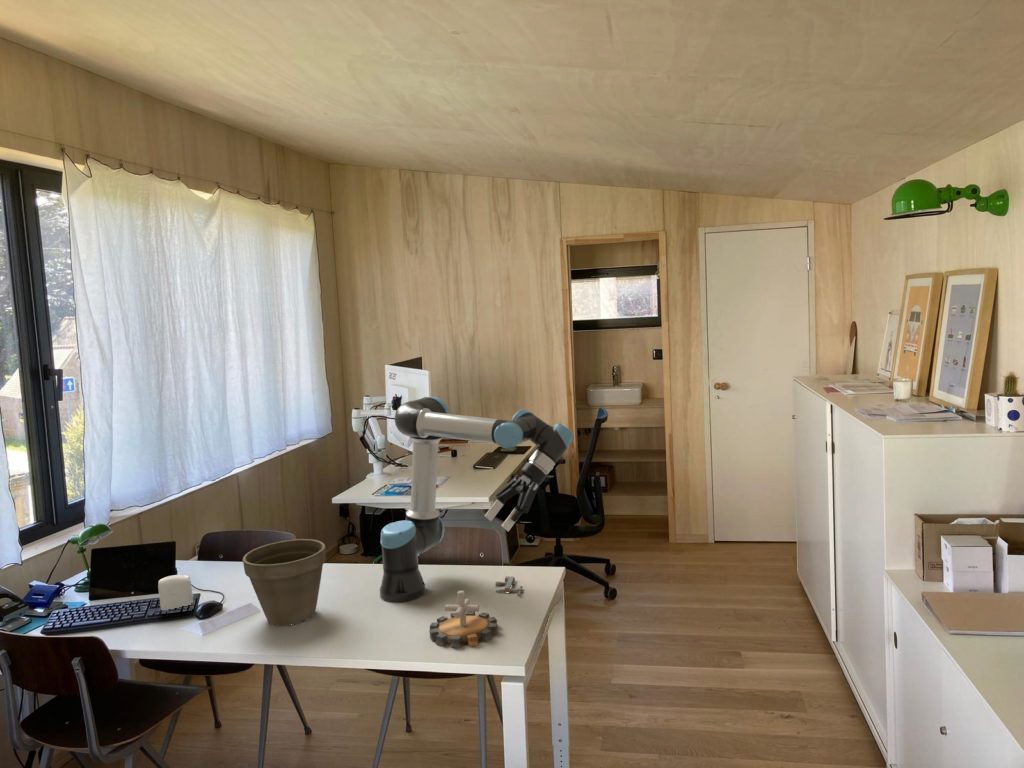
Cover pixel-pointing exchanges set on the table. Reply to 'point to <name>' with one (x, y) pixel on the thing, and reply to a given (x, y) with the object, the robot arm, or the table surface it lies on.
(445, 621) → the sprocket wheel
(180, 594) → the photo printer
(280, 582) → the plant pot
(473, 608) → the pipe connector
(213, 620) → the table surface
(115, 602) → the table surface
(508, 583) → the clamp
